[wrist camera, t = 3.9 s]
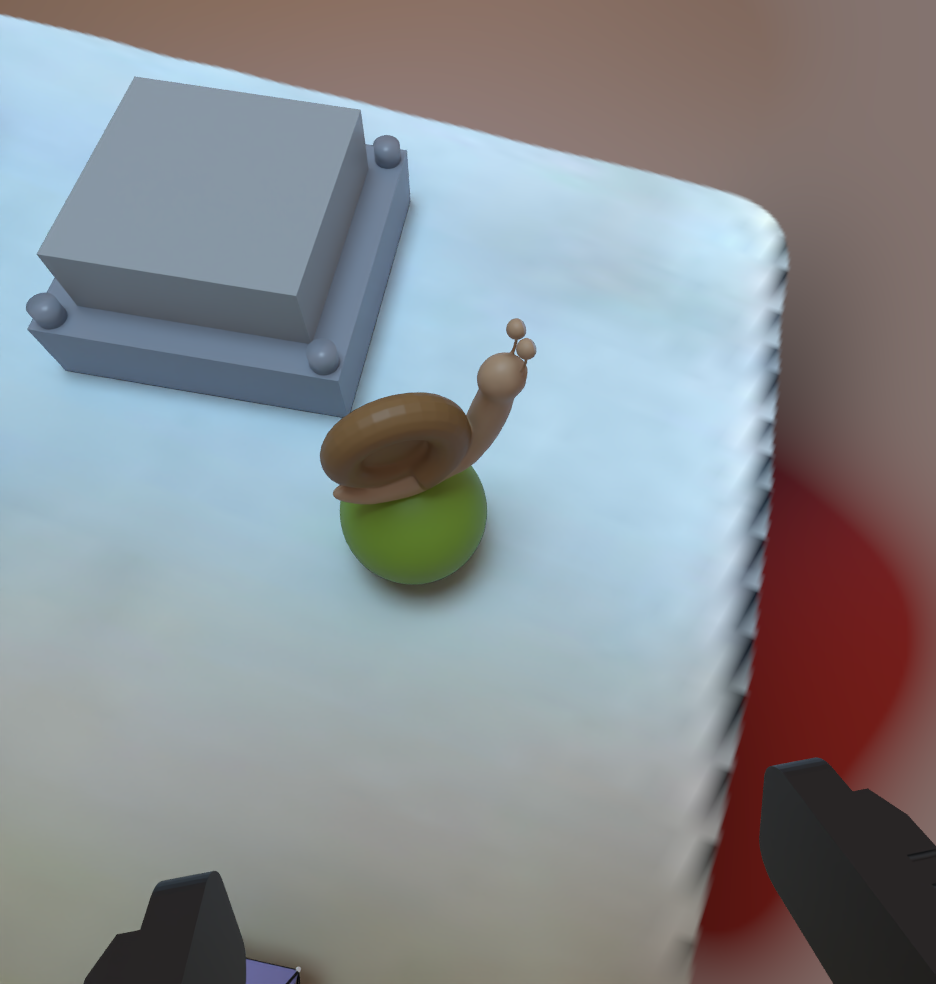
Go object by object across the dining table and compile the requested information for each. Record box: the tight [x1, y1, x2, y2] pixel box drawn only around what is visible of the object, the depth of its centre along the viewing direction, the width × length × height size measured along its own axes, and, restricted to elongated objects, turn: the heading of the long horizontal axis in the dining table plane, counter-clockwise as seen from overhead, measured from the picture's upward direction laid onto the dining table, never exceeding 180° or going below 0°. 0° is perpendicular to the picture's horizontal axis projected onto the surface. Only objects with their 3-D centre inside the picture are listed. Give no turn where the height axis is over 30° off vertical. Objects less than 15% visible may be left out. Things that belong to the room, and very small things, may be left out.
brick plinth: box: [26, 77, 410, 417], centre depth 30 cm, size 13×13×6 cm
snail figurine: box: [320, 318, 536, 584], centre depth 22 cm, size 5×6×12 cm
